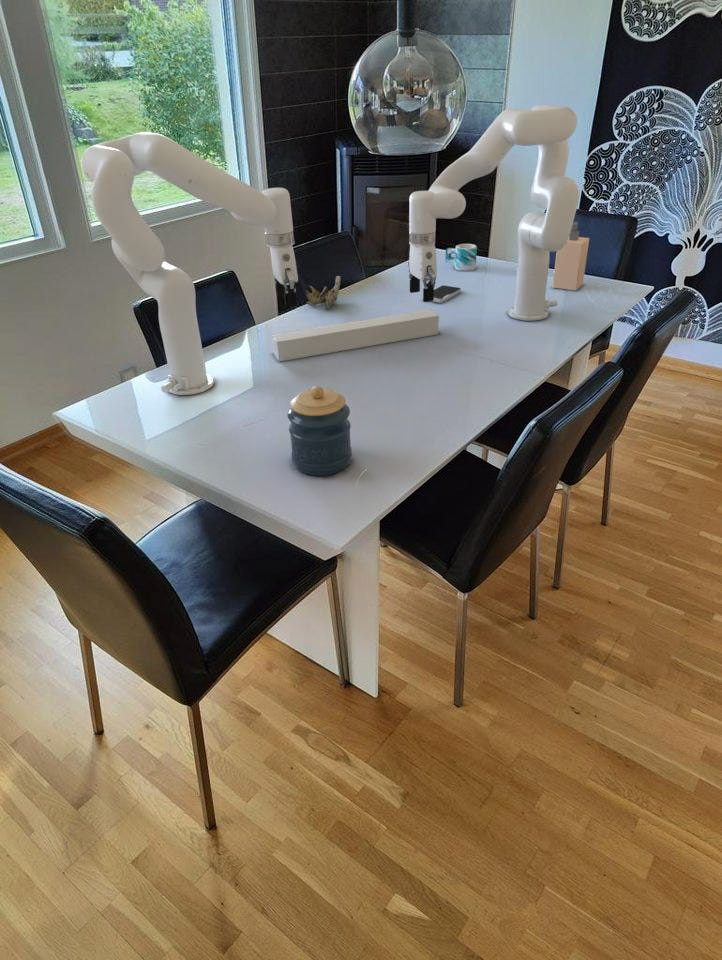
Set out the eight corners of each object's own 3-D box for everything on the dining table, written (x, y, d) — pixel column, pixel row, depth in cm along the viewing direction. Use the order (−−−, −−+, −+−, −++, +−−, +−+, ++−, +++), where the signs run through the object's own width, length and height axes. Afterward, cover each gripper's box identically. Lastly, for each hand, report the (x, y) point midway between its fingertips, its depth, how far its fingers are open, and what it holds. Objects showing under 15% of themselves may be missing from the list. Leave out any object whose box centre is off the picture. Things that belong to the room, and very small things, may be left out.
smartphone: (461, 288, 240) (441, 299, 230) (461, 291, 241) (441, 303, 231) (442, 285, 244) (422, 296, 234) (442, 288, 245) (422, 300, 235)
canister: (282, 471, 142) (273, 395, 133) (307, 442, 152) (301, 370, 143) (338, 481, 138) (333, 404, 129) (360, 451, 148) (358, 377, 139)
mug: (470, 271, 262) (471, 249, 257) (442, 268, 267) (442, 246, 263) (478, 266, 268) (479, 244, 263) (451, 262, 273) (451, 241, 268)
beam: (279, 361, 193) (277, 341, 190) (273, 353, 198) (271, 334, 195) (438, 334, 207) (438, 315, 204) (429, 327, 212) (429, 309, 209)
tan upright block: (559, 281, 247) (567, 218, 235) (582, 284, 243) (592, 220, 231) (548, 290, 238) (556, 226, 226) (572, 294, 234) (581, 228, 222)
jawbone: (353, 284, 236) (341, 264, 228) (334, 318, 232) (322, 299, 224) (332, 281, 241) (320, 262, 233) (313, 315, 237) (300, 296, 229)
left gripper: (302, 243, 173) (308, 308, 183) (285, 229, 187) (291, 290, 196) (274, 248, 171) (281, 313, 181) (258, 233, 185) (266, 294, 194)
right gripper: (447, 242, 187) (445, 303, 196) (421, 230, 201) (420, 287, 210) (422, 246, 185) (422, 306, 194) (398, 233, 199) (398, 290, 208)
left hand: (287, 301), depth 188 cm, fingers open, 9 cm apart
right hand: (421, 296), depth 202 cm, fingers open, 9 cm apart
